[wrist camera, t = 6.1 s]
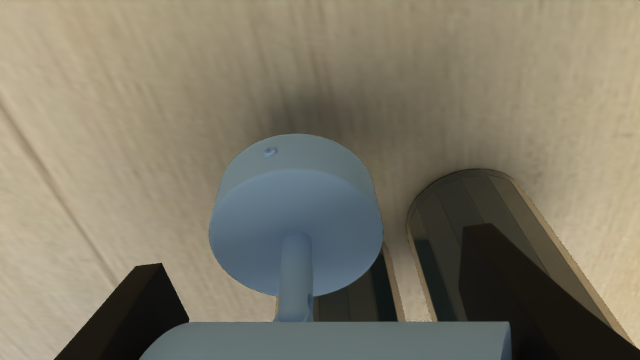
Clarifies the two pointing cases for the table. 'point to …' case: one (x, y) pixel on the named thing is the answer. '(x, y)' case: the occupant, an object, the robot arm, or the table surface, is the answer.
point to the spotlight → (309, 264)
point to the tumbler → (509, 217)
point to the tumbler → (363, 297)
